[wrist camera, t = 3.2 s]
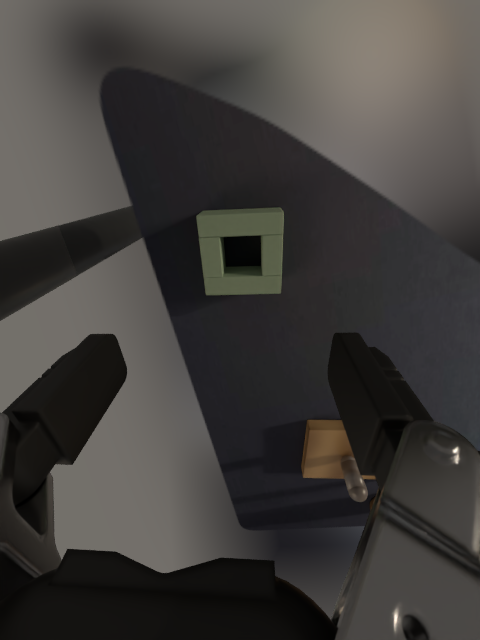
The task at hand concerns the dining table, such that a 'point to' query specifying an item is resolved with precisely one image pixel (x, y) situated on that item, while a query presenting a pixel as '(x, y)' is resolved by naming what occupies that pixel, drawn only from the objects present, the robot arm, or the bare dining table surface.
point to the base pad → (332, 456)
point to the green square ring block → (241, 224)
